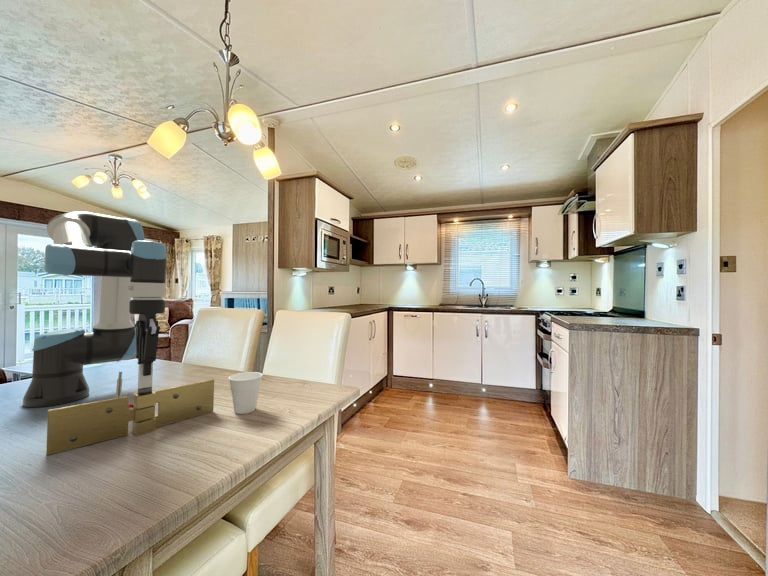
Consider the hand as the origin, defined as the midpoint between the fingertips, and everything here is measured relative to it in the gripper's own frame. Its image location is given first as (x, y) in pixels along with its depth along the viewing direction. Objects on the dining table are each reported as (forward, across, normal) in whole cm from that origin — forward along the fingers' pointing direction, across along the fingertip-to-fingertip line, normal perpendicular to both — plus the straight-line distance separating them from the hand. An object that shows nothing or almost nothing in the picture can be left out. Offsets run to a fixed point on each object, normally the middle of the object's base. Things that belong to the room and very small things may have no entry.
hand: (145, 386), depth 80 cm
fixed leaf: (+12, 0, +8) cm, 14 cm away
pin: (+12, 0, 0) cm, 12 cm away
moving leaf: (+12, -1, -8) cm, 14 cm away
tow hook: (+12, -20, +1) cm, 24 cm away
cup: (+12, +7, +24) cm, 28 cm away
